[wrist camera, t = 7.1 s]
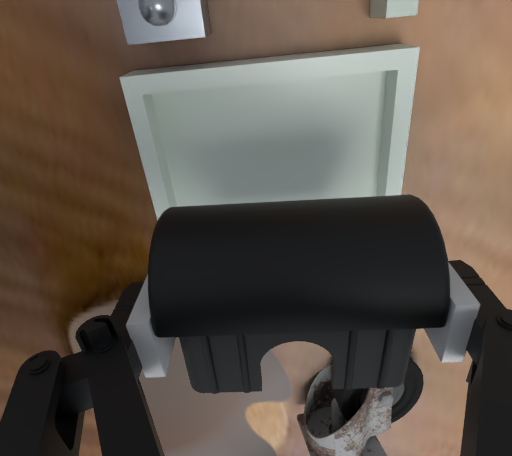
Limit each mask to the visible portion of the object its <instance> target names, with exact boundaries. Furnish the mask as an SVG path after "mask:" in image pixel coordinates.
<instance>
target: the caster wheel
mask: <svg viewBox="0 0 512 456" xmlns="http://www.w3.org/2000/svg"><path fill="white" fill-rule="evenodd" d="M331 374H332V365H330V366H328V367H326V368H324V369H322V370H321V371H320V372H319V373H318V375H317V376H316V378H315V379H314V381H313V383H312V385H311V387H310V390H309V392H308V396H307V399H306V404H305V410H304V413H303V414H299V415H297V420H298V423H299V426H300V428H301V431H302V434H303V436H304V439H305V442H306V445H307V447H308V450H309V453H310V456H387V455H386V453H385V451H384V449H383V448H382V446H381V444H380V442H379V441H378V439H377V437H376V435H378V434H381V433H383V432H385V431H386V430H388V429H389V428H391V423H393V422H395V421H397V420H398V419H400V418H401V417H403V416H404V415H405V414H406V413H408V412H409V411H410V410H411V409H412V407H413V406H414V405H415V404H416V402H417V401H418V399H419V397H420V395H421V392H422V389H423V374H422V372H421V369H420V368H419V367H418V365H417V364H416V363H415V362H414V361H413V360H412V358H411V357H409V362H408V366H407V370H406V375H405V379H404V382H403V383H402V385H400V386H398V387H392V388H384V389H379V388H357V389H351V390H346V389H333V387H332V382H331ZM329 429H330V430H329Z"/></svg>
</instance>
